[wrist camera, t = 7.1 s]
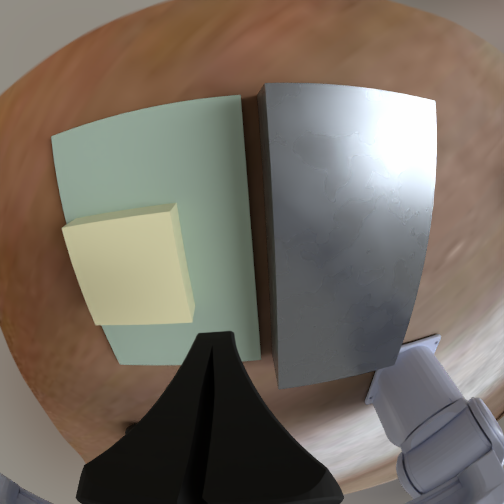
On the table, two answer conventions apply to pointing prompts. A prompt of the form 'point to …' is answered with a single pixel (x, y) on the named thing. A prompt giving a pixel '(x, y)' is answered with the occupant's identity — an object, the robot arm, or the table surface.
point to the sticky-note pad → (132, 266)
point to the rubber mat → (189, 209)
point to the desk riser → (343, 224)
